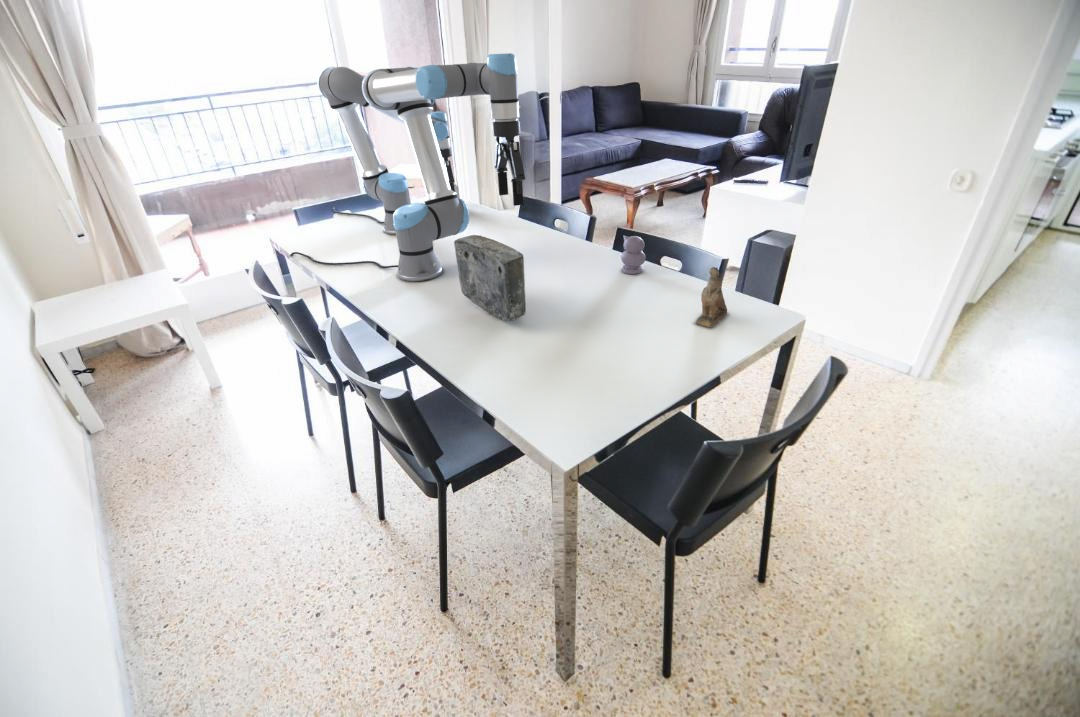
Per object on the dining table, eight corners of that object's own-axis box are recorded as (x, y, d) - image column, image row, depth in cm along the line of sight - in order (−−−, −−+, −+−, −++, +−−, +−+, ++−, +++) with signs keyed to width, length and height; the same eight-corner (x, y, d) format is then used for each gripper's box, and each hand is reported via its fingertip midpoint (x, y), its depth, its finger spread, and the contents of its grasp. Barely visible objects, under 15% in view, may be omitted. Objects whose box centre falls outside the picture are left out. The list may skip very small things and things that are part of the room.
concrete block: (533, 322, 141) (530, 255, 130) (507, 332, 136) (501, 263, 126) (485, 293, 159) (479, 232, 149) (460, 300, 155) (452, 238, 145)
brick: (442, 211, 247) (439, 188, 241) (440, 209, 251) (437, 186, 245) (460, 209, 249) (458, 186, 244) (458, 206, 254) (455, 184, 248)
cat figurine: (649, 270, 171) (652, 236, 165) (636, 276, 167) (638, 242, 160) (628, 264, 176) (630, 231, 170) (615, 271, 172) (617, 237, 165)
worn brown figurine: (709, 335, 136) (713, 280, 124) (691, 329, 139) (693, 274, 128) (730, 313, 142) (736, 258, 130) (712, 307, 145) (716, 253, 133)
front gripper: (535, 123, 126) (538, 207, 137) (504, 115, 146) (509, 189, 157) (506, 125, 124) (512, 211, 135) (480, 117, 143) (486, 192, 155)
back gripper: (456, 150, 226) (462, 198, 238) (445, 143, 246) (451, 187, 257) (440, 152, 224) (447, 200, 235) (430, 145, 244) (437, 189, 255)
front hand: (510, 199), depth 146 cm, fingers open, 13 cm apart
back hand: (449, 193), depth 247 cm, fingers open, 13 cm apart
